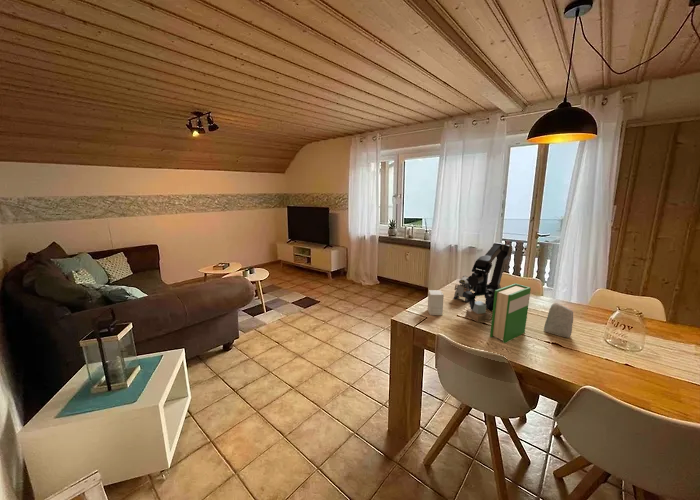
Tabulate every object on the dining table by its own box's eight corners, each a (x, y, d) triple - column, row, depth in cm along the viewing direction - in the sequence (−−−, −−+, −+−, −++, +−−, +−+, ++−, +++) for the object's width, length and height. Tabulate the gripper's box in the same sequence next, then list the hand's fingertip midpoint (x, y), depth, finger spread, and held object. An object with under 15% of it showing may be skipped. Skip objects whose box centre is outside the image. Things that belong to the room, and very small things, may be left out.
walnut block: (478, 313, 164) (479, 307, 163) (490, 320, 156) (491, 313, 155) (465, 316, 161) (466, 309, 160) (477, 323, 153) (478, 316, 152)
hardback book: (504, 343, 132) (510, 295, 127) (489, 336, 138) (494, 290, 133) (524, 332, 141) (530, 287, 136) (509, 326, 148) (515, 283, 142)
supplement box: (439, 310, 168) (441, 290, 165) (442, 315, 161) (444, 294, 158) (427, 309, 169) (428, 289, 166) (429, 315, 162) (430, 294, 159)
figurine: (474, 299, 183) (476, 277, 180) (464, 303, 177) (466, 281, 173) (462, 295, 191) (463, 273, 187) (451, 299, 184) (453, 277, 181)
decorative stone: (572, 336, 138) (577, 307, 135) (568, 340, 134) (573, 311, 131) (546, 327, 146) (550, 300, 143) (542, 331, 142) (546, 303, 139)
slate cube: (479, 309, 160) (480, 301, 159) (485, 312, 156) (486, 304, 154) (471, 310, 159) (472, 301, 158) (477, 314, 154) (478, 305, 153)
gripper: (486, 275, 163) (483, 301, 167) (457, 278, 159) (455, 304, 162) (500, 282, 153) (497, 308, 156) (470, 285, 148) (467, 312, 152)
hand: (479, 308), depth 157 cm, fingers open, 9 cm apart
